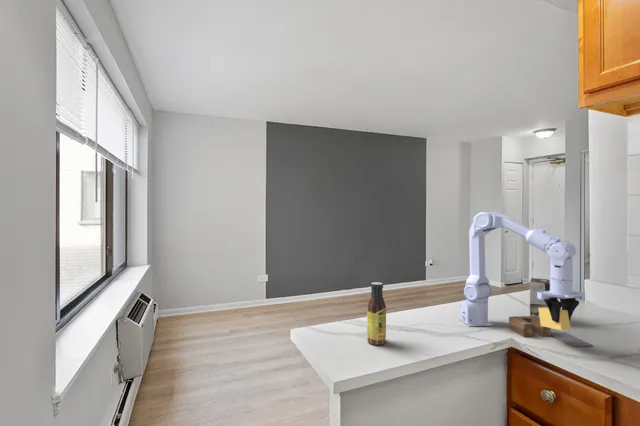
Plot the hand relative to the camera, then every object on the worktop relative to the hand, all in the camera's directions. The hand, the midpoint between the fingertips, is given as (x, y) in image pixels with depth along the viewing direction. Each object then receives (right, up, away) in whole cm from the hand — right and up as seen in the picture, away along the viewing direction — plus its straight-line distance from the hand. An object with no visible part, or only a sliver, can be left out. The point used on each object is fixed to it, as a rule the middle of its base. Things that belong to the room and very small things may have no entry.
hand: (560, 321), depth 103 cm
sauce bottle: (-58, -9, +5) cm, 59 cm away
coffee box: (+12, -9, +27) cm, 31 cm away
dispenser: (-1, -9, +14) cm, 16 cm away
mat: (+8, -9, +7) cm, 14 cm away
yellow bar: (0, -3, +2) cm, 4 cm away
